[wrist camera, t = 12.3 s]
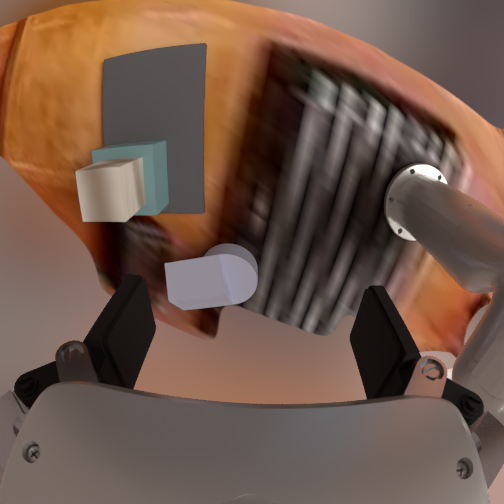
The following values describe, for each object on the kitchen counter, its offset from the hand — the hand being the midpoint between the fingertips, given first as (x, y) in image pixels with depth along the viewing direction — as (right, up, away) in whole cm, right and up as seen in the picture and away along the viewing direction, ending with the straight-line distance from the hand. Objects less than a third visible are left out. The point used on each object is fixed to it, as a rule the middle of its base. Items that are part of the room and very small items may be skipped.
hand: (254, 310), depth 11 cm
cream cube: (-16, +11, +20) cm, 28 cm away
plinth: (-16, +14, +24) cm, 32 cm away
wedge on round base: (-6, 0, +33) cm, 33 cm away
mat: (-14, +19, +22) cm, 33 cm away
